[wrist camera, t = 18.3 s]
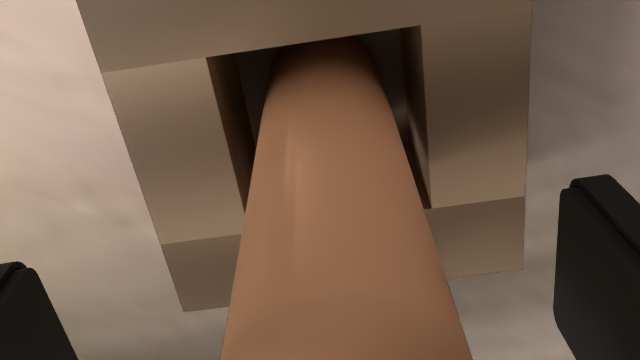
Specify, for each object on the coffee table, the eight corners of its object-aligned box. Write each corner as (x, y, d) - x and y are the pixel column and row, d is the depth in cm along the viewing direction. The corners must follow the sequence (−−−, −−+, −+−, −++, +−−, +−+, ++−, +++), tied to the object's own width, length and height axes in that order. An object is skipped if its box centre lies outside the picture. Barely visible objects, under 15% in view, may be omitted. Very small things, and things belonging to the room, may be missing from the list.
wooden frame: (478, 182, 21) (523, 269, 17) (208, 219, 22) (183, 311, 17) (474, -126, 16) (536, -115, 12) (125, -69, 17) (62, -39, 13)
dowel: (372, 18, 17) (473, 277, 7) (383, 123, 19) (479, 462, 8) (259, 36, 17) (186, 314, 7) (280, 139, 19) (246, 488, 9)
